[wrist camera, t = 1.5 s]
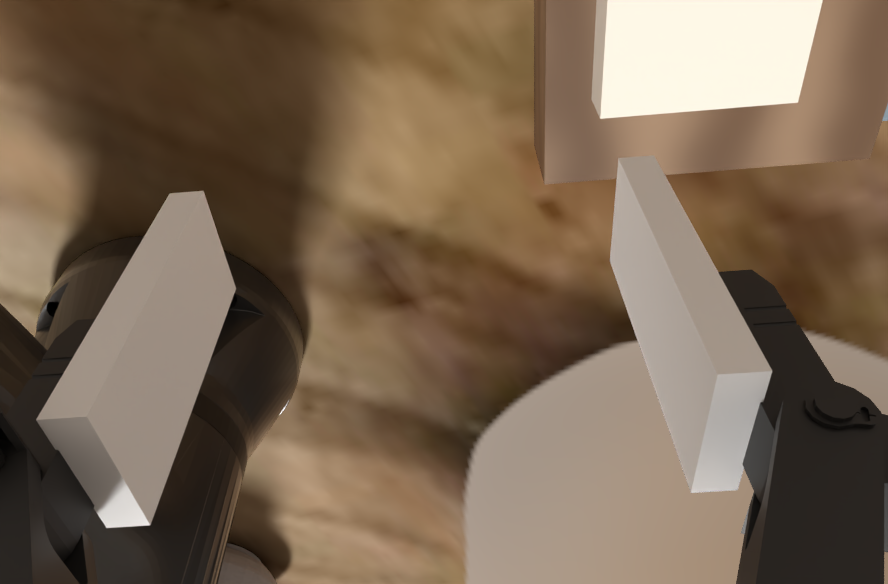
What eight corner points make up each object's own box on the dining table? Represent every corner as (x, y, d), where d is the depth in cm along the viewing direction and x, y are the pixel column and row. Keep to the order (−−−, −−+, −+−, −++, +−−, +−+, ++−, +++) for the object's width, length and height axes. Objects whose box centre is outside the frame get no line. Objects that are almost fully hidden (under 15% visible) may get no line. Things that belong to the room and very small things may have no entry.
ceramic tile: (591, 99, 30) (600, 118, 29) (602, -111, 25) (613, -102, 24) (778, 83, 30) (797, 102, 28) (826, -132, 25) (852, -124, 23)
